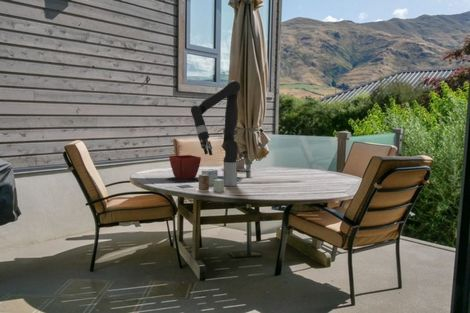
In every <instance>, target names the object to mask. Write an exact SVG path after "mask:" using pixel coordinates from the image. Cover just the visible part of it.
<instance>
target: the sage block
mask: <svg viewBox="0 0 470 313" xmlns="http://www.w3.org/2000/svg"><path fill="white" fill-rule="evenodd" d="M212 188H213V189H212V191H213V192H218V193H221V192H224V191H225V186H224V180H223V178H222V179H221V178H217V179H215V180H214V184H213V187H212Z"/></svg>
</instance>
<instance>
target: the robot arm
mask: <svg viewBox="0 0 470 313" xmlns="http://www.w3.org/2000/svg"><path fill="white" fill-rule="evenodd" d="M240 90H241V84H240V82H239V81H237V80H230V81H229V82H228V83H227V85H226V86H225V87H224V88H221V89H220V90H219V91H217V92H216V93H213V94H212V95H210V96H208V97H206V98H205V99H204V100H202V102H201V103H200V104H199V105H197V104H194V105H192V106H191V107H190V113H191V115H192V119H193V121H194V125H195V130H196V134H197V138H198V141H199V143H200V148H201V149H202V150H203V153H204V155H209V156H212V155H213V151H212V149H213V147H212V143H211V141H210V140H209V139H210V135H209V131H208V127H207V125H206V122H205V119H204V117H203V114H205V113H206V112H207V111H208V110H209V109H211V108H213V107H214V106H216V105H217V104H219V103H220V102H221V101H223V100H224V99H226V105H225V111H224V112H225V114H224V116H225V117H224V136H223V140H222V141H223V142H222V148H223V151H225V152H224V154H225V155H224V158H223V165H224V170H222V171H223V175H222V176H223V178H222V180H224V187H235V186H238V172H237V170H236V160H237V154H238V145H237V143H236V142H235V141H234V136H235V132H236V128H237V126H238V121H239V120H238V119H239V108H238V95H239V94H238V93H239V92H240Z"/></svg>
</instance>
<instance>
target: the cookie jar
mask: <svg viewBox="0 0 470 313" xmlns="http://www.w3.org/2000/svg"><path fill="white" fill-rule="evenodd" d="M245 164H246V162H245V163H244V159H241V160H239V161H236V171H243V172H247V171H246V166H247V165H245ZM221 169H222V171H223V170H224V164H222V165H221Z"/></svg>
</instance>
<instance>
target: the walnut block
mask: <svg viewBox="0 0 470 313" xmlns="http://www.w3.org/2000/svg"><path fill="white" fill-rule="evenodd" d="M198 189H199V190H202V191H201V192H205V191H204V190H209V189H210V185H209V175H206V174H204V175H202V174H199V175H198Z"/></svg>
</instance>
